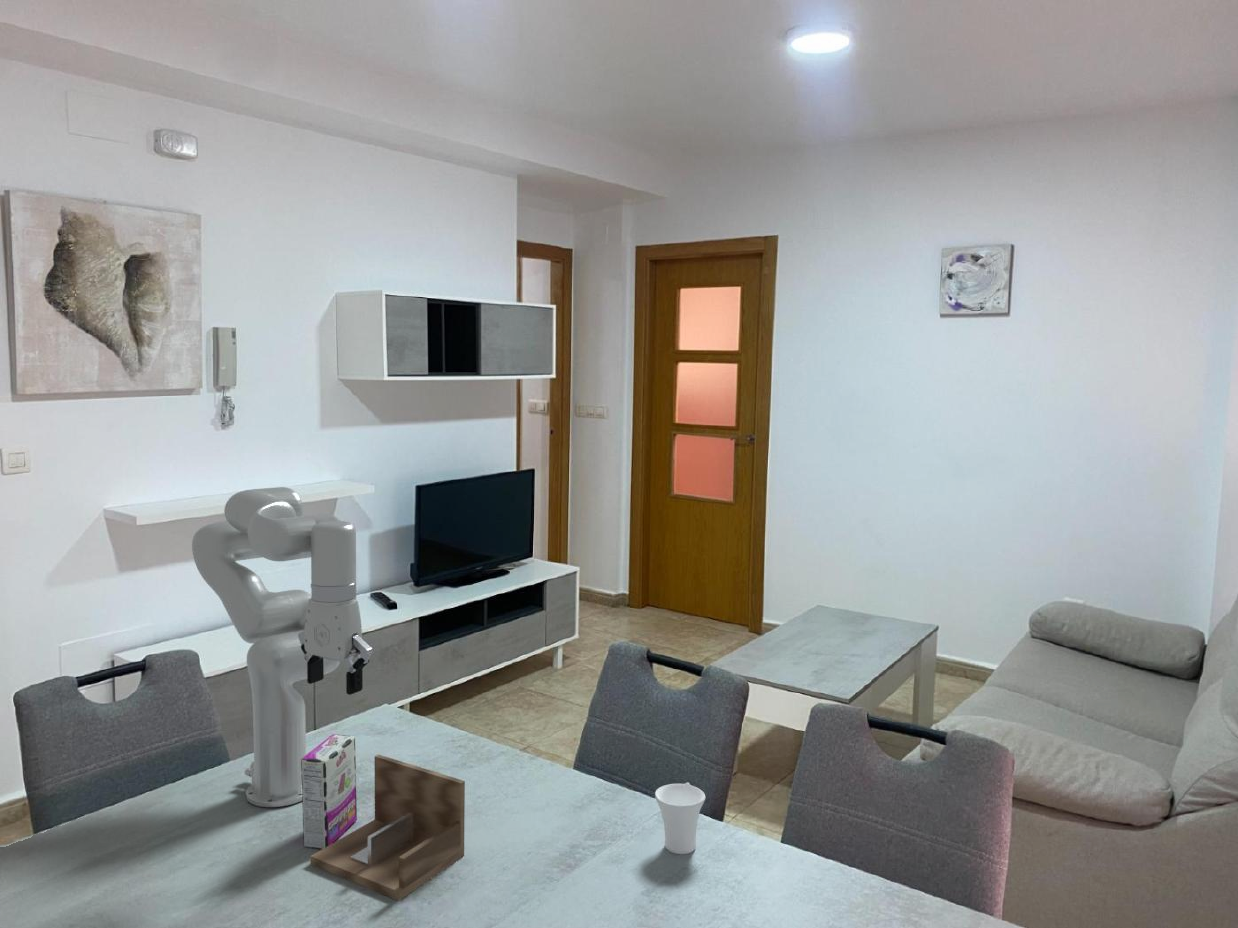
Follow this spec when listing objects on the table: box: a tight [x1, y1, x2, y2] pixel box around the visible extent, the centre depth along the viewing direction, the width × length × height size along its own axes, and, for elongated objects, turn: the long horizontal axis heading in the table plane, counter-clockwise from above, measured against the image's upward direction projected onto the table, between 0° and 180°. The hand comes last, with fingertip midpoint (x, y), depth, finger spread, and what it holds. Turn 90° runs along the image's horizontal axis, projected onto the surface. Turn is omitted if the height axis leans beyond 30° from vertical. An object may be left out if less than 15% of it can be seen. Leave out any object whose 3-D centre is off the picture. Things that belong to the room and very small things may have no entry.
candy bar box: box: [301, 733, 358, 850], centre depth 166 cm, size 11×5×16 cm, turn 168°
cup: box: [654, 782, 706, 855], centre depth 165 cm, size 9×9×10 cm
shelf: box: [309, 754, 466, 901], centre depth 158 cm, size 20×16×14 cm
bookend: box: [350, 812, 413, 867], centre depth 159 cm, size 5×10×5 cm, turn 150°
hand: (334, 686), depth 164 cm, fingers open, 9 cm apart
